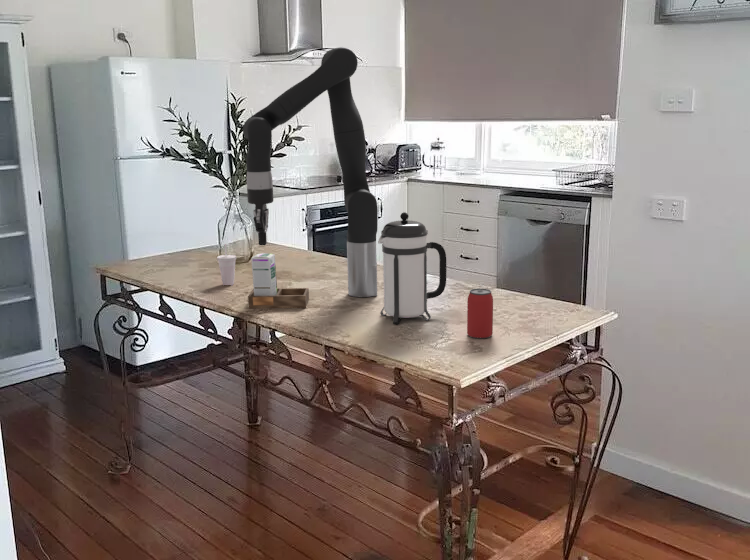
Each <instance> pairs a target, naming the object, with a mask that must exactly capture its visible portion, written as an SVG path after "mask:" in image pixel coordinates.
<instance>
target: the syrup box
mask: <svg viewBox="0 0 750 560" xmlns="http://www.w3.org/2000/svg"><path fill="white" fill-rule="evenodd" d="M250 259H251V270H252V271H251V272H252V273H251V274H252V286H253V289H254V296H276V294H277V288H278V285H277V283H278V281H277V267H276V255H275V253H272V252H271V253H270V252H269V253H268V252H267V253H266V252H265V253H264V252H263V253H262V252H261V253H257V254H255V255H253V256H252V257H251V258H250Z"/></svg>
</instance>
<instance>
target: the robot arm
mask: <svg viewBox="0 0 750 560" xmlns="http://www.w3.org/2000/svg"><path fill="white" fill-rule="evenodd" d="M358 63H359V62H358V57H357V55H356V54H355V52H354V51H353V50H352V49H350V48H349V47H343V46H340V47H336V48H332V49H330V50H327V51H326V52H325V53H324V54H323V56H322V58H321V62H320V64H321V65H319V67H318V68H316V70H314V72H312V73H311V74H309V75H308V76H307V77H305V78H304V79H302V80H301V81H299V82H297V83H296V84H295V85H294V84H293V85H292V86H291V87H290V88H288V89H287V90H286V91H284V92H283V93H281V94H280V95H278V97H276V98H274V100H273V101H271V102H270V103H269V104H268V105H267V106H265V107H264V108H262V109H261V110H259V111H258V112H256V113H254V114H253V115H251V116H250V117H249V118H248V119H246V120H245V122H244V123H243V127H242V134H243V135H244V137H245V138H246V140H247V141H248V143H247V147H248V151H247V154H246V159H245V160H246V161H245V162H246V193H247V203H248V204H250V205H255V206H254V209H253V211H252V212H253V218H252V219H253V222H254V227H255V232H256V233H257V234H258V236H257V237H258V245H259V246H266V245H267V243H268V241H267V240H268V239H267V237H268V236H267V232H268V228H269V214H270V210H269V208H268V207H267V205H269V204H272V203H273V202H274V187H273V186H274V184H273V182H274V181H273V180H274V179H273V175H272V161H271V150H272V139H273V137H272V136H273V135H272V131H273V130H274V129H276V128H277V127H279V126H281V125H283V124H286V123H287V122H289V120H291V119H292V118H293V117H295V116H296V115H297V114H298V113H300V112H301V111H302V110H303V109H305V107H307V106H308V105H310V104H311V103H312V102H313V101H315V99H316V98H318V97H319V96H320V95H322V94H323V93H325V92H327V94H328V100H329V108H330V116H331V124H332V130H333V139H334V144H335V147H336V149H335V150H336V153H337V158H338V163H339V166H340V170H341V174H342V181H343V185H342V186H343V200H344V203H343V205H344V208H345V210H346V212H347V231H346V258H347V259H346V260H347V261H346V263H347V265H346V266H347V293H348V294H347V295H349V296H350V297H353V298H354V297H356V298H369V297H377V296H378V262H377V260H378V259H377V255H378V254H377V233H378V227H379V226H378V223H379V222H378V220H379V219H378V217H379V216H378V212H379V211H378V201H377V198H376V197H375V195H374V194H373V193H372V192H371V190H370V187H369V183H368V178H367V173H366V160H367V159H366V158H367V157H366V155H367V150H366V149H367V145H366V144H367V143H366V133H365V128H364V124H363V120H362V117H361V114H360V112H359V109H358V108H357V105H356V103H355V100H354V97H353V93H352V86H351V77H352V76H353V75H354V74H355V73H356V71H357V68H358Z"/></svg>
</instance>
